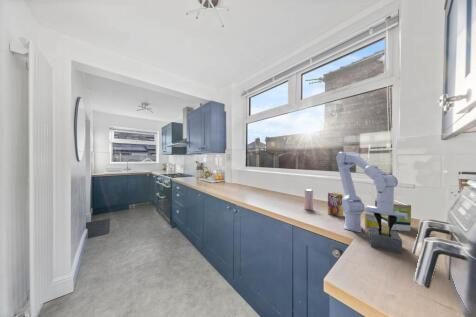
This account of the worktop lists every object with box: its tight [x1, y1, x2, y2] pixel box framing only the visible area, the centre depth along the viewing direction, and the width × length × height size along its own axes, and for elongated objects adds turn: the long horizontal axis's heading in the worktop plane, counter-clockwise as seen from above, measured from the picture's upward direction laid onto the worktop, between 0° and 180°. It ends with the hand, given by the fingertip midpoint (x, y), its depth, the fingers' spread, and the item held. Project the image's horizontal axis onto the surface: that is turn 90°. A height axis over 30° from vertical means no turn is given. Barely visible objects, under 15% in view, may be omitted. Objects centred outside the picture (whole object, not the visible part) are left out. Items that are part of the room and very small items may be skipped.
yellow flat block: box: [380, 222, 389, 236], centre depth 76 cm, size 5×2×6 cm, turn 145°
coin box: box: [369, 226, 403, 255], centre depth 76 cm, size 10×10×6 cm
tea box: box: [374, 197, 412, 232], centre depth 99 cm, size 15×10×15 cm, turn 168°
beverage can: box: [304, 188, 314, 211], centre depth 128 cm, size 6×6×15 cm
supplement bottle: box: [364, 205, 379, 231], centre depth 93 cm, size 7×7×13 cm
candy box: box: [327, 191, 344, 218], centre depth 116 cm, size 9×4×15 cm, turn 47°
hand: (384, 230), depth 76 cm, fingers closed on yellow flat block, 2 cm apart
